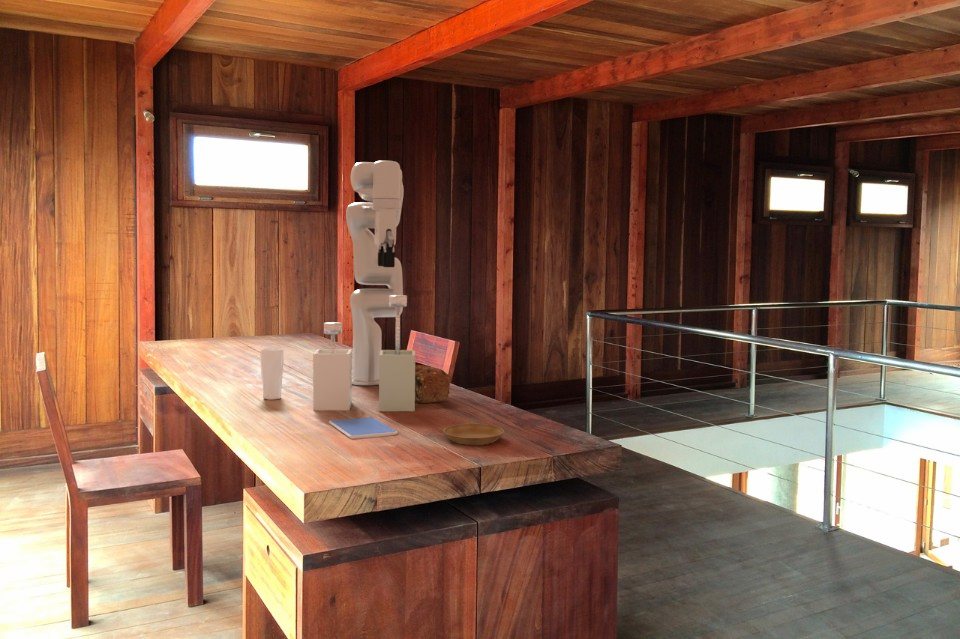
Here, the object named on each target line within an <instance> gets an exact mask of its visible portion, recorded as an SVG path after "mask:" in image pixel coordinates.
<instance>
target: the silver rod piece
mask: <svg viewBox="0 0 960 639" xmlns="http://www.w3.org/2000/svg"><path fill="white" fill-rule="evenodd" d="M407 304H408V295H405V294H403V295H389V306H390V307H396V317H395V346H394V347H395V349H394V350H395V355H400V348H401V343H400V342H401V315H400V307H403V308H405V307H407V306H408V305H407Z"/></svg>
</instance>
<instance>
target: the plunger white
mask: <svg viewBox="0 0 960 639" xmlns="http://www.w3.org/2000/svg"><path fill="white" fill-rule="evenodd" d="M342 333H343V322H339V321H338V322H335V321H331V322H330V321H329V322H323V334H324V335H329V336H330V349H331V354H335V349H336V335H342Z"/></svg>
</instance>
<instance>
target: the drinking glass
mask: <svg viewBox="0 0 960 639" xmlns="http://www.w3.org/2000/svg"><path fill="white" fill-rule="evenodd" d="M259 355H260V357H259V359H260V360H259V361H260V371H261V381H262V382H261V384H262V397H263V399H264V400H267V401H269V400H271V401H272V400H273V401H274V400H279V399H281V398H282V387H283V376H284V365H285V364H284V363H285V362H284V360H285V359H284V358H285V357H284V355H285V354H284V348H282V347H263V348H261V349H260V354H259Z"/></svg>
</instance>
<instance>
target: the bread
mask: <svg viewBox="0 0 960 639" xmlns="http://www.w3.org/2000/svg"><path fill="white" fill-rule="evenodd" d="M450 386H451V380H450V375H449V374H448V373H447V372H445V370H443V369H441V368H439V367H438V368H437V367H434V366H427V365H423V364H422V365H421V364H415V403H421V404H430V403H442V402H443V403H445V402H447V401H448V399H449V394H450V391H451V390H450V389H451V388H450Z"/></svg>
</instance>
